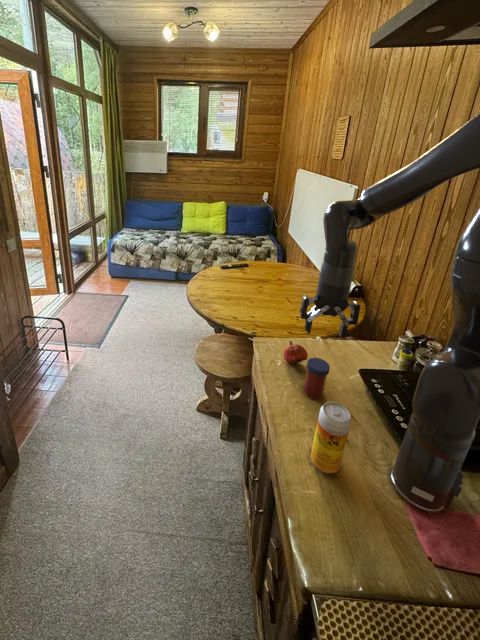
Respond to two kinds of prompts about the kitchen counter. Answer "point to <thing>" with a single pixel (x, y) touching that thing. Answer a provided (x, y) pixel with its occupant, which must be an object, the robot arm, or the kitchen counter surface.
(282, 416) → the kitchen counter surface
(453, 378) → the robot arm
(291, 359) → the pomegranate
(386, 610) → the kitchen counter surface
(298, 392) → the kitchen counter surface
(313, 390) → the jar
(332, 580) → the kitchen counter surface
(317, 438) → the beer can
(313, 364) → the lid
